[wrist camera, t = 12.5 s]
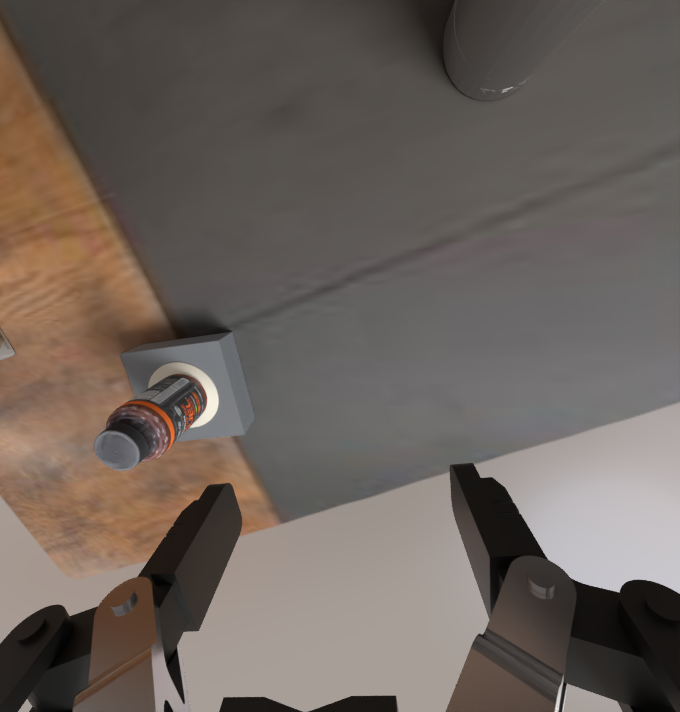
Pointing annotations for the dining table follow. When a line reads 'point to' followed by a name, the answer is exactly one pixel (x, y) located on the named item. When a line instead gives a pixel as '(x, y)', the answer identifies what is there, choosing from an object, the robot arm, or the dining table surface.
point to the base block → (198, 379)
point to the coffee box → (5, 347)
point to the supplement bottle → (150, 422)
